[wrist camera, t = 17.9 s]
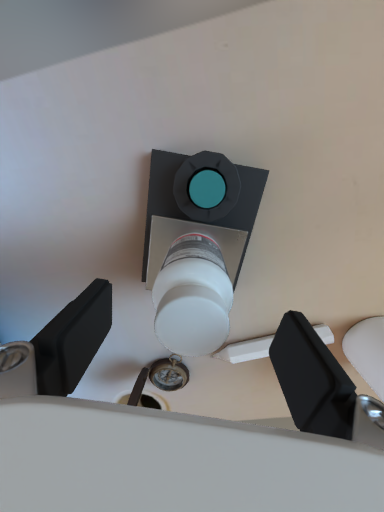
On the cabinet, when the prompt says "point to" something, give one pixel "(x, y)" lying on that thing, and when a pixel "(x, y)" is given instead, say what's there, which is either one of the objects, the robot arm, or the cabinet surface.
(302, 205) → the cabinet surface
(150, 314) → the cabinet surface
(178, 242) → the pill bottle
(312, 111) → the cabinet surface
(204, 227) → the pan
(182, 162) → the scale
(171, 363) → the compass
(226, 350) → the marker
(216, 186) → the button
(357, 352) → the cup
